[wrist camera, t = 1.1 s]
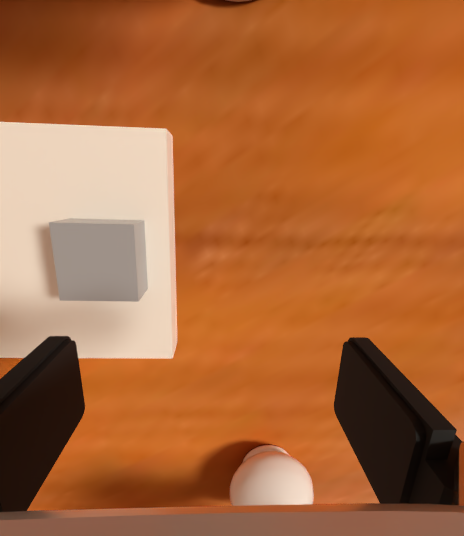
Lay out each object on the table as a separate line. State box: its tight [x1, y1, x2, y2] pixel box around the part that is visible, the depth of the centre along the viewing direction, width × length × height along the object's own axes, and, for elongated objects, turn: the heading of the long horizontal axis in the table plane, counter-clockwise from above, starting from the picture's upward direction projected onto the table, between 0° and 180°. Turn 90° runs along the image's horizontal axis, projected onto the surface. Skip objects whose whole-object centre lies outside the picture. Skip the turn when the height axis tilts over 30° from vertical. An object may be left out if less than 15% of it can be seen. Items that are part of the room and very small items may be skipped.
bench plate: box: [0, 122, 177, 358], centre depth 25 cm, size 20×16×3 cm
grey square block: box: [49, 218, 148, 302], centre depth 23 cm, size 6×6×3 cm
